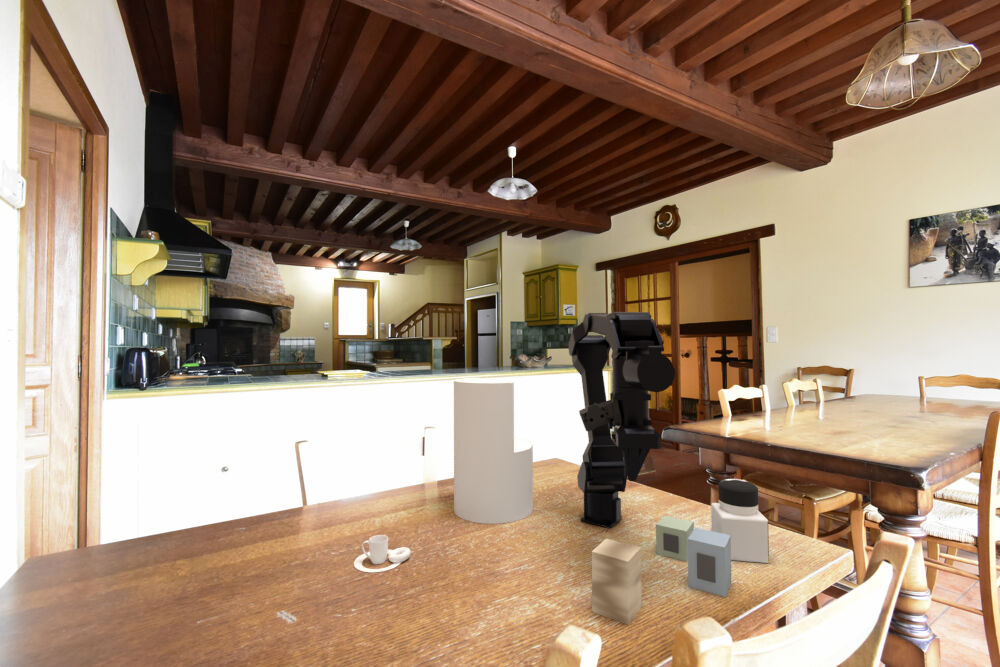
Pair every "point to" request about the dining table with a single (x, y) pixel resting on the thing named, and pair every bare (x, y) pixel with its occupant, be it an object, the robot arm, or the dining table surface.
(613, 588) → the beech block
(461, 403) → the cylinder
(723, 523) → the medicine bottle
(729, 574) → the slate numbered block
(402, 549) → the teacup and saucer
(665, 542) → the sage numbered block
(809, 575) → the dining table surface
